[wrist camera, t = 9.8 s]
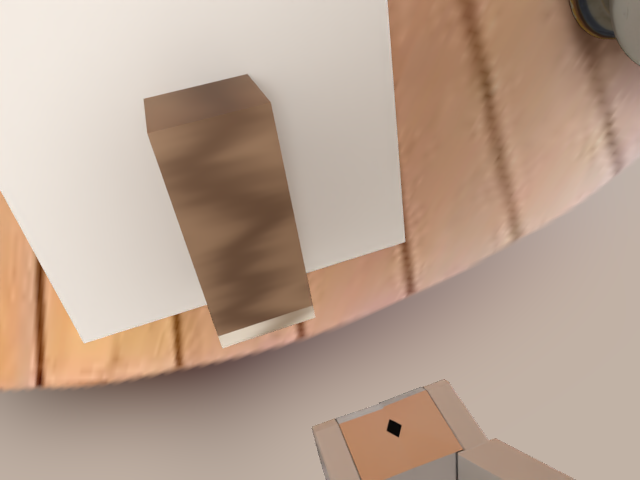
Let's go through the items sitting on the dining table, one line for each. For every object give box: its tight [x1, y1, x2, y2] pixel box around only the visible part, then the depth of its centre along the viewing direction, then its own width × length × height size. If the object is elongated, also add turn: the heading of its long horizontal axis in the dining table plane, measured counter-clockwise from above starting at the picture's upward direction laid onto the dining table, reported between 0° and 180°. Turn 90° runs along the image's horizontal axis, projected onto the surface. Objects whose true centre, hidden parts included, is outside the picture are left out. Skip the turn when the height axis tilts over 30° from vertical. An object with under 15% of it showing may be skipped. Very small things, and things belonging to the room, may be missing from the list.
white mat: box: [0, 0, 405, 343], centre depth 32 cm, size 24×24×1 cm
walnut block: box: [144, 74, 315, 348], centre depth 31 cm, size 6×6×14 cm
